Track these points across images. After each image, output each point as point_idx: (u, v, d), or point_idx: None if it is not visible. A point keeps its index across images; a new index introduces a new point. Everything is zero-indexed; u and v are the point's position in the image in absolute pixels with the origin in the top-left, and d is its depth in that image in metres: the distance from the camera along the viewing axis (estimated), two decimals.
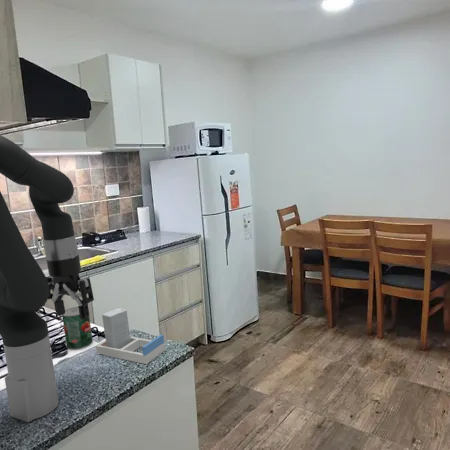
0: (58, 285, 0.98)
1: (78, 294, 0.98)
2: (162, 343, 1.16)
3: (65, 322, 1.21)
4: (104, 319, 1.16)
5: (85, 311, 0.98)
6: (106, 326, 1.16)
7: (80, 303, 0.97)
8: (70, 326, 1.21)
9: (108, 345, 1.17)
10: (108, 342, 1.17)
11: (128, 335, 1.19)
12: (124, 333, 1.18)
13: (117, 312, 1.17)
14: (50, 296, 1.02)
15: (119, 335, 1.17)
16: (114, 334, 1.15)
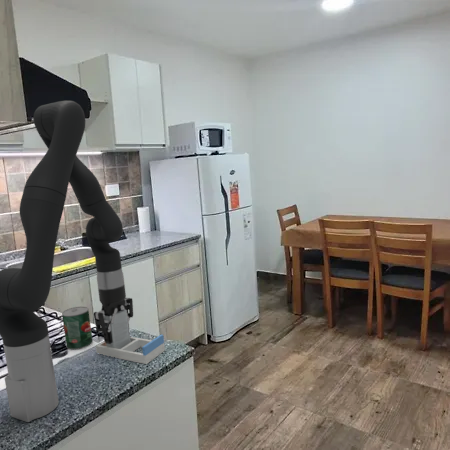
0: (116, 309, 1.16)
1: None
2: (162, 343, 1.16)
3: (65, 322, 1.21)
4: None
5: None
6: (106, 326, 1.16)
7: (128, 318, 1.21)
8: (70, 326, 1.21)
9: (108, 345, 1.17)
10: None
11: (128, 335, 1.19)
12: (124, 333, 1.18)
13: (117, 312, 1.17)
14: None
15: (119, 335, 1.17)
16: (114, 334, 1.15)
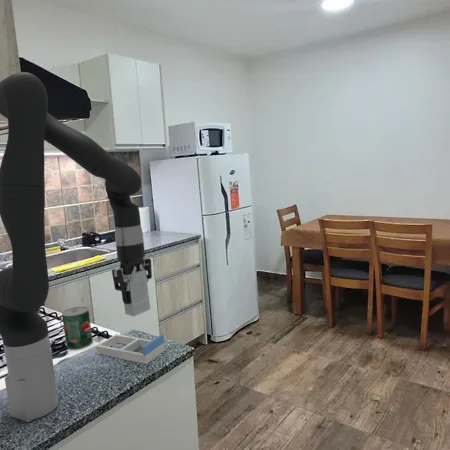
0: (135, 268, 1.10)
1: None
2: (162, 343, 1.16)
3: (65, 322, 1.21)
4: None
5: None
6: None
7: (147, 279, 1.15)
8: (70, 326, 1.21)
9: (126, 307, 1.11)
10: None
11: (147, 296, 1.13)
12: (143, 294, 1.12)
13: None
14: None
15: (138, 295, 1.11)
16: (133, 295, 1.09)
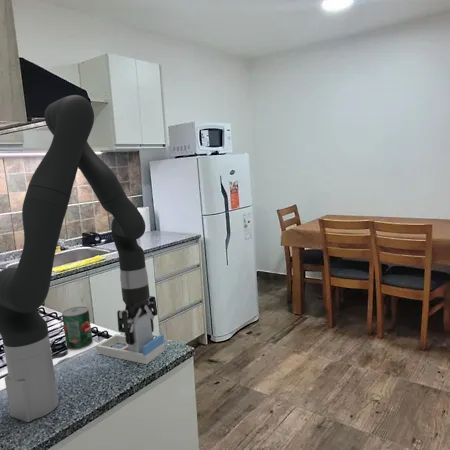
0: (140, 310, 1.11)
1: None
2: (162, 343, 1.16)
3: (65, 322, 1.21)
4: None
5: None
6: None
7: (153, 316, 1.18)
8: (70, 326, 1.21)
9: (131, 350, 1.13)
10: (132, 347, 1.12)
11: (151, 339, 1.15)
12: (147, 338, 1.14)
13: (141, 316, 1.12)
14: None
15: (143, 339, 1.12)
16: (138, 339, 1.11)
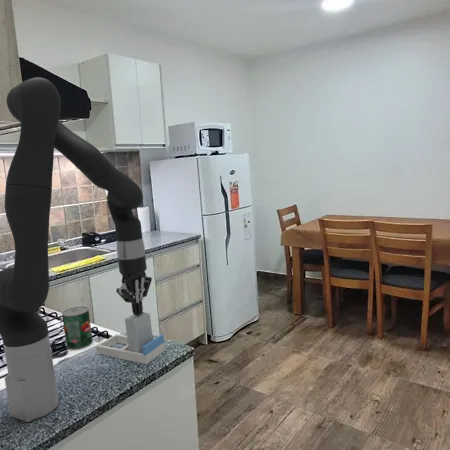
0: (137, 280, 1.10)
1: None
2: (162, 343, 1.16)
3: (65, 322, 1.21)
4: (127, 323, 1.12)
5: None
6: (129, 330, 1.12)
7: (142, 298, 1.13)
8: (70, 326, 1.21)
9: (131, 350, 1.13)
10: (132, 347, 1.12)
11: (151, 339, 1.15)
12: (147, 338, 1.14)
13: (141, 316, 1.12)
14: None
15: (143, 339, 1.12)
16: (138, 339, 1.11)
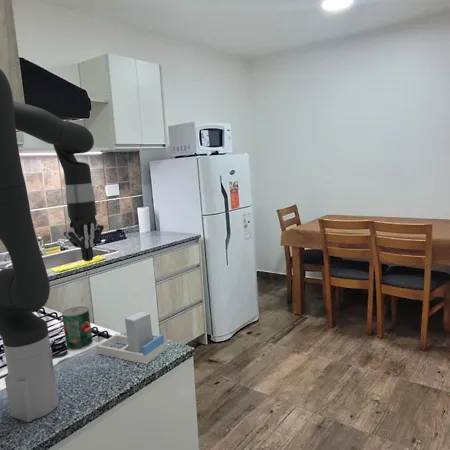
0: (85, 225, 1.11)
1: None
2: (162, 343, 1.16)
3: (65, 322, 1.21)
4: (127, 323, 1.12)
5: None
6: (129, 330, 1.12)
7: (92, 244, 1.14)
8: (70, 326, 1.21)
9: (131, 350, 1.13)
10: (132, 347, 1.12)
11: (151, 339, 1.15)
12: (147, 338, 1.14)
13: (141, 316, 1.12)
14: None
15: (143, 339, 1.12)
16: (138, 339, 1.11)
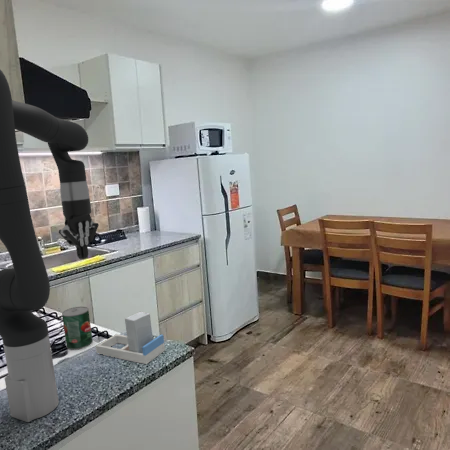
0: (80, 223, 1.11)
1: None
2: (162, 343, 1.16)
3: (65, 322, 1.21)
4: (127, 323, 1.12)
5: None
6: (129, 330, 1.12)
7: (87, 242, 1.14)
8: (70, 326, 1.21)
9: (131, 350, 1.13)
10: (132, 347, 1.12)
11: (151, 339, 1.15)
12: (147, 338, 1.14)
13: (141, 316, 1.12)
14: None
15: (143, 339, 1.12)
16: (138, 339, 1.11)
